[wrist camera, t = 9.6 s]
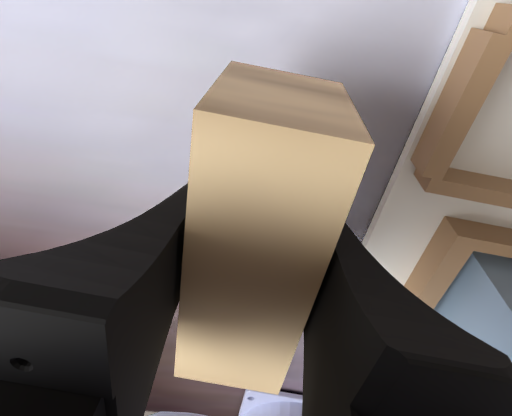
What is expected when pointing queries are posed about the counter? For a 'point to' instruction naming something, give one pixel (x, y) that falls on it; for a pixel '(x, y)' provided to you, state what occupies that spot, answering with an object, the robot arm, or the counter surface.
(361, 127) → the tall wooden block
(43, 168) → the counter surface
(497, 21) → the jig
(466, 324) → the light blue block
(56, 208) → the counter surface
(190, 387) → the counter surface
